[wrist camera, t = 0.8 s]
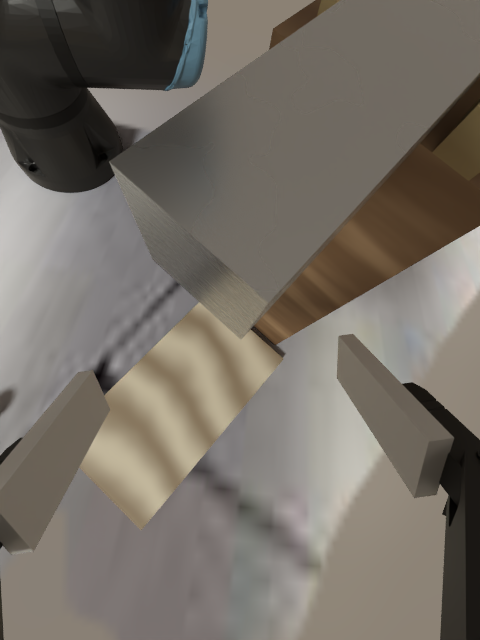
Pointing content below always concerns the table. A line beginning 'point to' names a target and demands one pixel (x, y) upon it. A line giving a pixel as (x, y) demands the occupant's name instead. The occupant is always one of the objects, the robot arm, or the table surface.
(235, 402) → the board
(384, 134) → the block
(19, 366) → the table surface
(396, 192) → the wooden rectangular column
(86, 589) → the table surface
